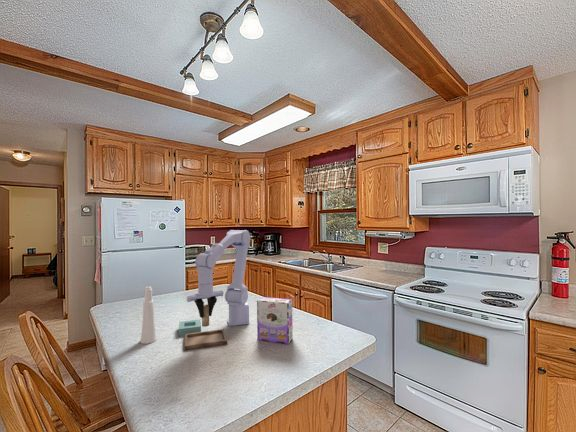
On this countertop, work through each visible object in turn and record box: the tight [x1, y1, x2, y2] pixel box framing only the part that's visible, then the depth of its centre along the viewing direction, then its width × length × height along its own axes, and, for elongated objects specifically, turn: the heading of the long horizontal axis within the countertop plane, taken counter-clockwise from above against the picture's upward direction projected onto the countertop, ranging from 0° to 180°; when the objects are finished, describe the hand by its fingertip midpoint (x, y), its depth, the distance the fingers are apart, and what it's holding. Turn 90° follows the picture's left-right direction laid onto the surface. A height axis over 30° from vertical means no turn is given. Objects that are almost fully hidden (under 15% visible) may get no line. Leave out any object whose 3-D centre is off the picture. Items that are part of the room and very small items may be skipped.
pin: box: [201, 304, 210, 327], centre depth 115 cm, size 3×3×8 cm
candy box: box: [256, 296, 294, 345], centre depth 117 cm, size 14×6×16 cm, turn 71°
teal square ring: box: [178, 318, 202, 337], centre depth 125 cm, size 9×9×3 cm
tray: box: [184, 328, 229, 351], centre depth 115 cm, size 16×12×2 cm
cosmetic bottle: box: [139, 285, 157, 345], centre depth 115 cm, size 6×6×22 cm
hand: (205, 316), depth 115 cm, fingers closed on pin, 3 cm apart
